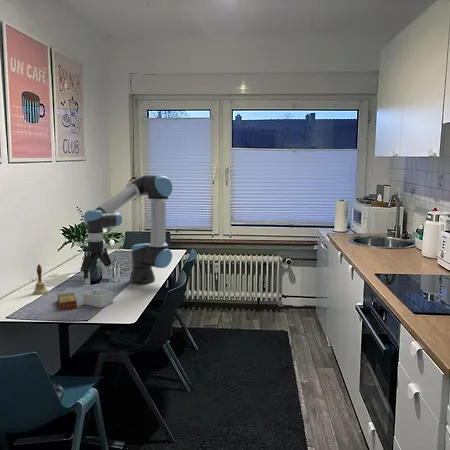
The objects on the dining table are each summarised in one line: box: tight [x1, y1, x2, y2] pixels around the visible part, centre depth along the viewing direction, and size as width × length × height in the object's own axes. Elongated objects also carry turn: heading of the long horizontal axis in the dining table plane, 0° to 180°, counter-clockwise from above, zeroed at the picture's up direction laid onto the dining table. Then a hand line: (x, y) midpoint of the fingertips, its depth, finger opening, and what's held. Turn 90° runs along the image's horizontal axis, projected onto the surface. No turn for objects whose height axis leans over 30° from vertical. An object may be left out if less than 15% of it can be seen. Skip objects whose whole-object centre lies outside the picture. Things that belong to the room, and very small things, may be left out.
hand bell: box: [32, 264, 49, 295], centre depth 255 cm, size 8×8×16 cm
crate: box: [82, 288, 114, 309], centre depth 236 cm, size 9×12×6 cm
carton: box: [57, 292, 78, 311], centre depth 235 cm, size 8×16×4 cm, turn 24°
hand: (96, 281), depth 234 cm, fingers open, 13 cm apart
